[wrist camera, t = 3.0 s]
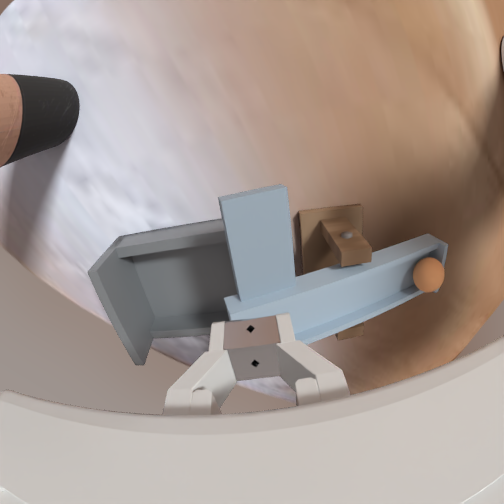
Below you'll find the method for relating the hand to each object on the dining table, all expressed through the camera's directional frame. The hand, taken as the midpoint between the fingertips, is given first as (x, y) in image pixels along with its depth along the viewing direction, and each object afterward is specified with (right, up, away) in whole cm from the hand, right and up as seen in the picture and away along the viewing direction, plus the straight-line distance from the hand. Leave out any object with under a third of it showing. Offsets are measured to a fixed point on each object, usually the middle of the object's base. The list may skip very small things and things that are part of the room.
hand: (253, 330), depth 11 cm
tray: (-7, +1, +17) cm, 18 cm away
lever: (+7, +3, +10) cm, 13 cm away
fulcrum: (+8, +3, +17) cm, 19 cm away
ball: (+16, +1, +11) cm, 19 cm away
